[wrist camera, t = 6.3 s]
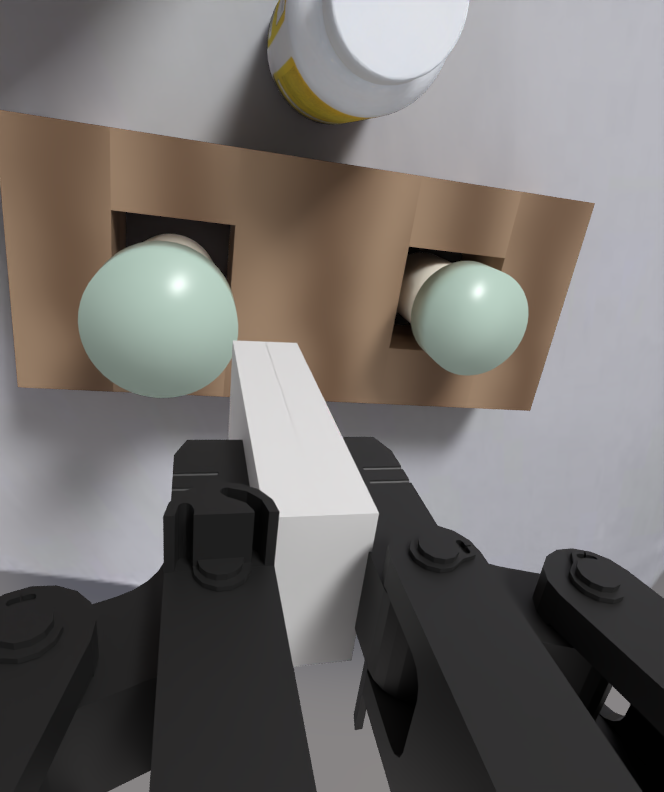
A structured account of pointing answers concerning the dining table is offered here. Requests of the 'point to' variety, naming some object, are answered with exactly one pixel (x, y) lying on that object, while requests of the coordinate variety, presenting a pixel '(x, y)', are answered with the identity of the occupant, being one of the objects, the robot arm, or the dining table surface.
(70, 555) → the dining table surface
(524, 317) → the knob
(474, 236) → the mount
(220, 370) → the knob
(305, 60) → the pill bottle
